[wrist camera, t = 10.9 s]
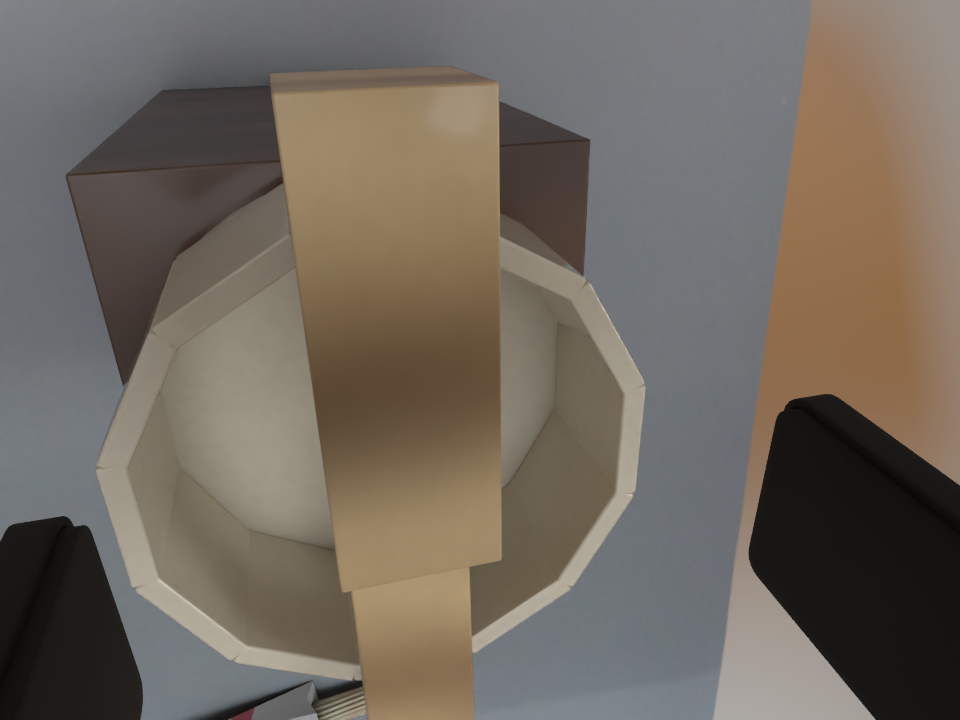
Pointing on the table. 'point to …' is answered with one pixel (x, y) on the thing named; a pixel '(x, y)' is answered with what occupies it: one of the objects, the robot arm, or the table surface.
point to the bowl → (298, 459)
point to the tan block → (402, 356)
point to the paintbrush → (308, 706)
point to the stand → (261, 190)
